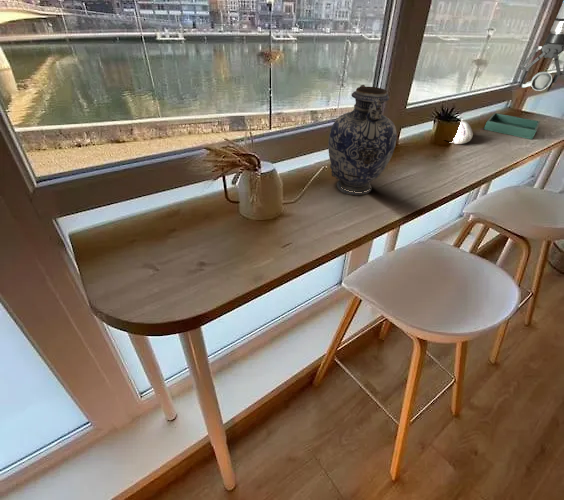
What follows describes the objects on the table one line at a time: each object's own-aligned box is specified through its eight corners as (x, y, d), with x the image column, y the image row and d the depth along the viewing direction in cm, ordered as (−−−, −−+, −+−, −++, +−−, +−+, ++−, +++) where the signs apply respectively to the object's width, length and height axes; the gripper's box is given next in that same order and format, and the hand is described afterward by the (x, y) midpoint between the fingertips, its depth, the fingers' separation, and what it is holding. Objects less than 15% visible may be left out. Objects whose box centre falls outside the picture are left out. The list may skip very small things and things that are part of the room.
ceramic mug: (545, 88, 156) (553, 70, 151) (547, 91, 150) (555, 73, 145) (520, 86, 160) (527, 68, 155) (520, 89, 154) (528, 71, 149)
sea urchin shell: (473, 139, 139) (481, 120, 134) (465, 148, 130) (473, 128, 125) (441, 132, 145) (448, 113, 140) (432, 140, 136) (439, 120, 131)
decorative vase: (319, 171, 109) (330, 79, 91) (374, 173, 109) (395, 81, 92) (327, 204, 92) (342, 99, 75) (391, 205, 93) (421, 101, 75)
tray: (536, 129, 153) (540, 121, 150) (532, 139, 141) (536, 130, 139) (490, 120, 162) (494, 112, 159) (483, 129, 150) (487, 120, 148)
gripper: (527, 31, 144) (505, 85, 158) (592, 36, 133) (562, 93, 147) (529, 30, 149) (507, 83, 162) (592, 35, 138) (563, 91, 152)
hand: (533, 88), depth 155 cm, fingers closed on ceramic mug, 11 cm apart
